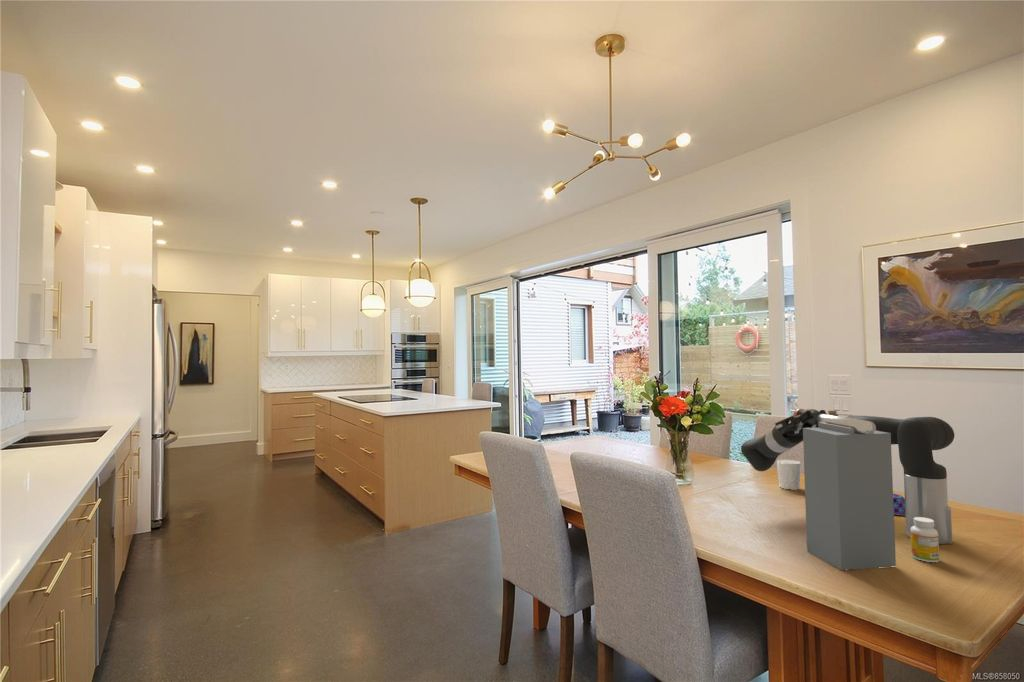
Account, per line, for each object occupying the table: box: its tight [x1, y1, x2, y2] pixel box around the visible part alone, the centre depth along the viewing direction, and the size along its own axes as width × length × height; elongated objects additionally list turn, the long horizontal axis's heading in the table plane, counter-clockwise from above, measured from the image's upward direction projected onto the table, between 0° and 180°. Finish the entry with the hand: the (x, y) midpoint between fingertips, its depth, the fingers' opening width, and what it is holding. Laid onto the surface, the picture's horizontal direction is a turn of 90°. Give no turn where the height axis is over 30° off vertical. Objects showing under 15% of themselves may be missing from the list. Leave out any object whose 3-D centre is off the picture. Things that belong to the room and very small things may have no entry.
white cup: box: [776, 459, 801, 491], centre depth 192 cm, size 8×8×10 cm
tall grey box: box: [802, 422, 897, 571], centre depth 126 cm, size 12×14×33 cm
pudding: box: [893, 493, 905, 516], centre depth 163 cm, size 12×12×5 cm
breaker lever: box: [792, 408, 876, 434], centre depth 131 cm, size 25×4×4 cm, turn 5°
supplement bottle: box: [910, 517, 940, 564], centre depth 125 cm, size 5×5×10 cm
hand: (817, 413), depth 136 cm, fingers closed on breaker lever, 3 cm apart
